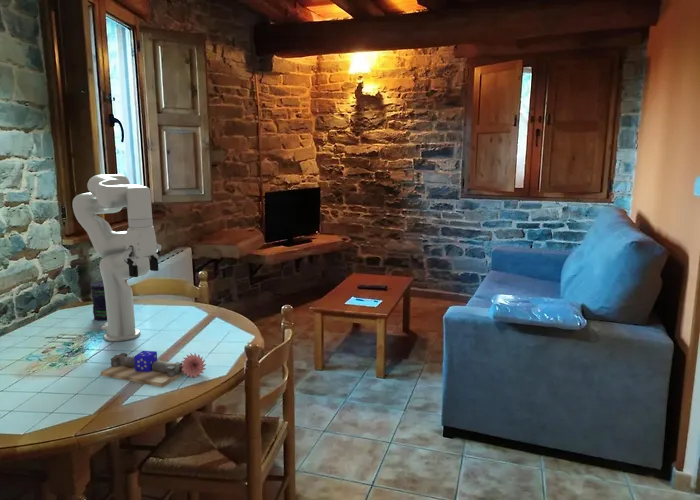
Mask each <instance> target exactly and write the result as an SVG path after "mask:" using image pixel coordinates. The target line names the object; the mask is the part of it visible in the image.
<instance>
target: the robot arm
mask: <svg viewBox="0 0 700 500" xmlns="http://www.w3.org/2000/svg"><path fill="white" fill-rule="evenodd" d="M86 185H87V190H88V191H89V192H85V193H80V194H77V195H76V196H75V197H74V198H73V199H72V210H73V214H74V216H75V219H76V220H77V222H78V223H79V224H80V225H81V227H82V228H83V229H84V231H85V232H86V233H87V235H88V237H89V240H90V242H91V244H92V246H93V248H94V251H95V252H96V254H97V255H98V257H100V258H102V259H101V260H100V261H99V271H100V275H101V277H102V281H103V283H104V290H105V300H106V311H107V321H106V322H104V324H103V325H102V326H101V330H105V331H106V332H105V334H104V335H103V338H104V340H106V341H109V342H124V341H129V340H132V339H135V338H137V337H139V336H140V335H141V330H140V329H139V328H136V320H135V309H134V294H133V289H132V287H131V286H130V285H129V283H127V281H125V280H126V279H127V280H128V279H130V278H139V277H141V276H142V277H143V276H145V275H147V274H148V273H149V272H150V271H151V272H159V259H160V256H161V255H160V254H161V250H162V245H161V244H160V243H158V242H157V236H156V232H155V228H154V223H153V221H154V219H153V213H152V212H153V211H152V208H153V207H152V197H151V193H152V192H151V189H150V188H149V187H148V186H145V185H141V184H131V183H130V181H129V178H128V177H126V175H124V174H121V173H117V174H116V173H115V174H97V175H94V176H92V177H90V178H89V180H88V182H87V184H86ZM123 208H126V211H127V221H128V222H127V224H128V228H127V230H123V231H114V230H113V228H112V227H111V225H110V223H109V222H108V221H107V220H106V219H104V218H103V217H101V216H99V215H102V214H115V213H119V212H120V211H121V210H122V209H123Z"/></svg>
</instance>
